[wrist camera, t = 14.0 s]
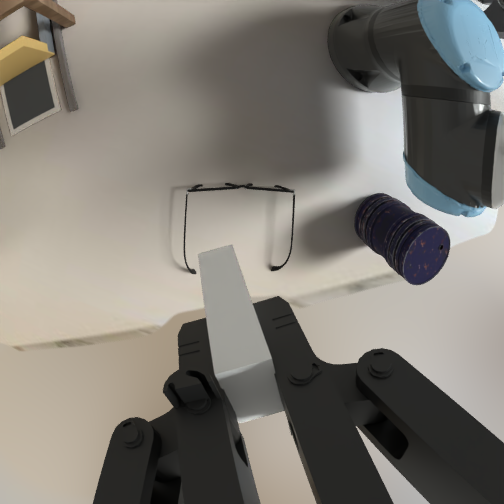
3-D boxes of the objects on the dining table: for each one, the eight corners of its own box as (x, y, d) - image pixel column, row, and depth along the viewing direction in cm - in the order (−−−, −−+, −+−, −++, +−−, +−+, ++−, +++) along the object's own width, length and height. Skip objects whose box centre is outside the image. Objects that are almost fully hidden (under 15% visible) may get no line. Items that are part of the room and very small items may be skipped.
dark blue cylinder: (361, 252, 56) (407, 297, 43) (346, 209, 51) (397, 248, 38) (402, 226, 55) (452, 263, 42) (391, 183, 50) (447, 214, 37)
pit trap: (46, 42, 28) (46, 41, 28) (61, 109, 34) (60, 110, 34) (-3, 71, 27) (-4, 71, 27) (11, 136, 33) (11, 136, 33)
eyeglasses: (291, 180, 47) (300, 187, 44) (280, 269, 54) (287, 282, 51) (182, 179, 43) (182, 186, 40) (184, 274, 51) (185, 287, 47)
